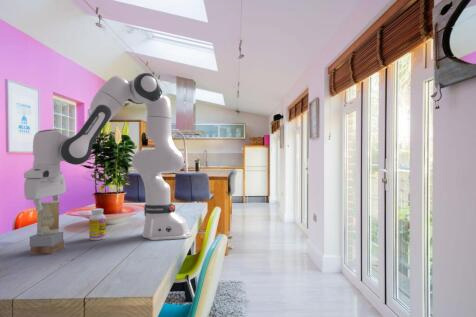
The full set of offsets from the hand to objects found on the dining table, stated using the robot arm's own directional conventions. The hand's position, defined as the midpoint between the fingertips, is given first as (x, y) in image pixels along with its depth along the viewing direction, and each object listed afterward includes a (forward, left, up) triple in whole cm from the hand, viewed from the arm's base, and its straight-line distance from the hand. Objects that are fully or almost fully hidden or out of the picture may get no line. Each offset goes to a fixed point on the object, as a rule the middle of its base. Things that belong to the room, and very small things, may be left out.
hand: (47, 208), depth 122 cm
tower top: (0, 0, -13) cm, 13 cm away
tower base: (0, 0, -17) cm, 17 cm away
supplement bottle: (-11, -18, -16) cm, 27 cm away
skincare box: (0, 0, -10) cm, 10 cm away
